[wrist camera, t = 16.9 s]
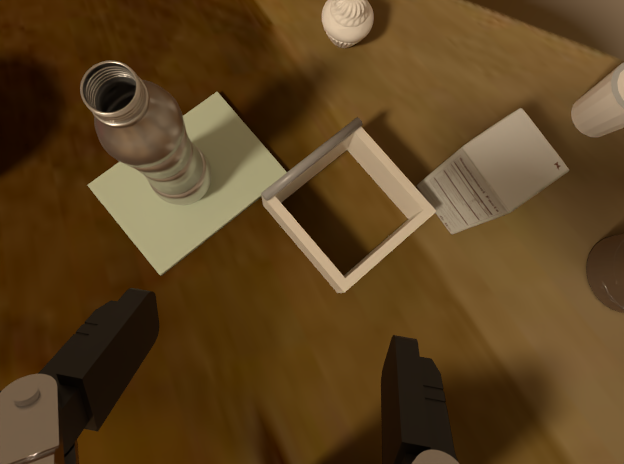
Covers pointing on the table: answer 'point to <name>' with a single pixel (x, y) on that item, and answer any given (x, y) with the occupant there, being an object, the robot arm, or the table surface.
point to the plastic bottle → (145, 131)
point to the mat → (205, 212)
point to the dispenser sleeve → (381, 173)
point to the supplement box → (492, 173)
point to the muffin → (347, 21)
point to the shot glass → (601, 106)
